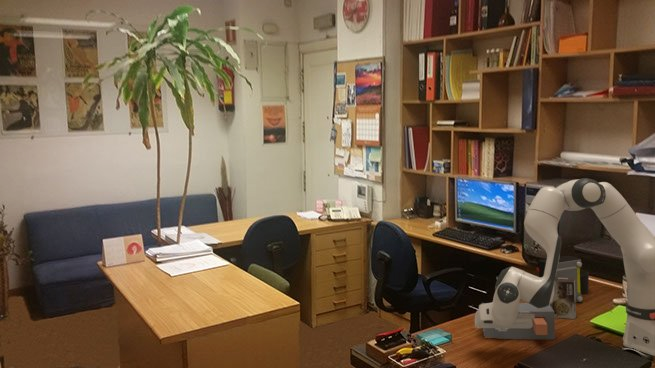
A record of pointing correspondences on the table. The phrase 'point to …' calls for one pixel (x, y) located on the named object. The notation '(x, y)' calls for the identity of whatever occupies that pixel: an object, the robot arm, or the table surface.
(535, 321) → the rust plug
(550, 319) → the block
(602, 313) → the table surface
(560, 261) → the electrical component
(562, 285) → the coffee box
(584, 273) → the pen holder
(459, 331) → the table surface
